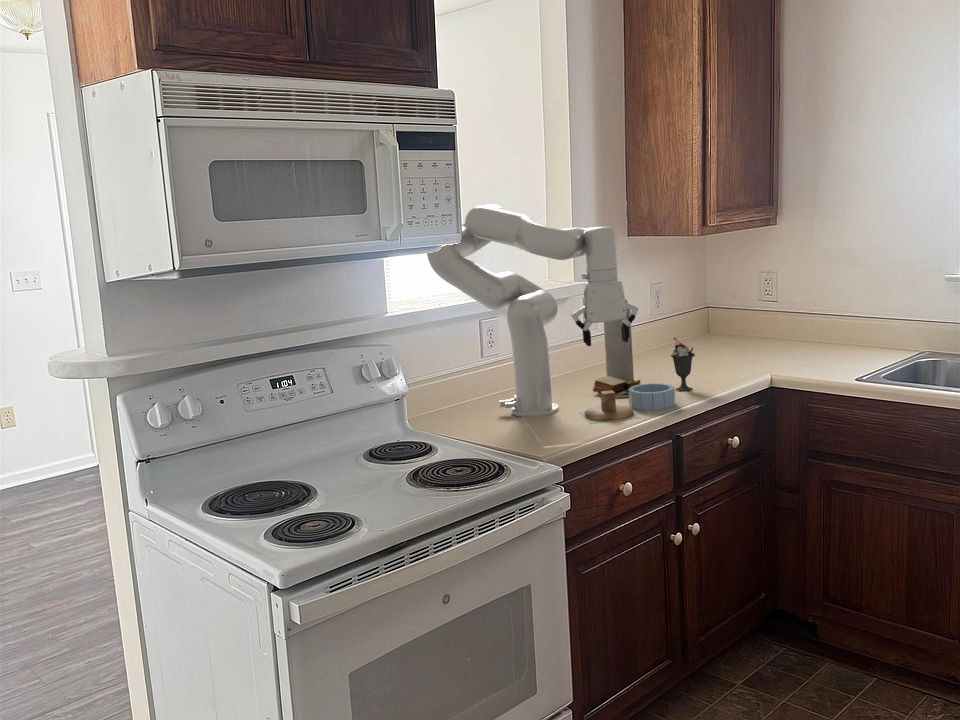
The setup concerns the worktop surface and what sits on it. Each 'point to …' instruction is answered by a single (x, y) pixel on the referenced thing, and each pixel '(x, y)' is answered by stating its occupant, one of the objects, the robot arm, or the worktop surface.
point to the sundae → (682, 364)
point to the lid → (608, 409)
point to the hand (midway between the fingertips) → (606, 343)
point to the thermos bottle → (618, 351)
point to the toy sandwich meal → (614, 386)
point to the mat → (608, 421)
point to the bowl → (651, 396)
